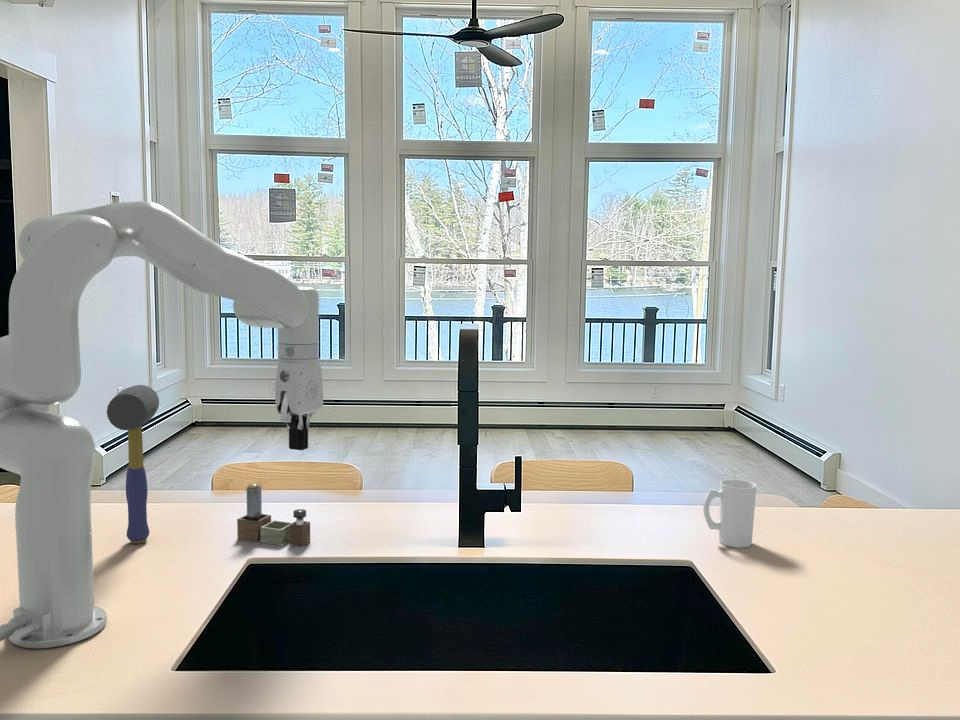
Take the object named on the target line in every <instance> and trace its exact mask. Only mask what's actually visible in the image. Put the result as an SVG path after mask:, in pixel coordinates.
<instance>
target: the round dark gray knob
mask: <svg viewBox="0 0 960 720" xmlns="http://www.w3.org/2000/svg"><path fill="white" fill-rule="evenodd" d="M292 515H293V516H292V517H293V518H295V521H296V525H304V521H305V518H306V517H307V510H306V509H304V508H303V509H301V508H299V509H294V510H293V514H292Z"/></svg>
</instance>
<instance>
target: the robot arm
mask: <svg viewBox="0 0 960 720" xmlns="http://www.w3.org/2000/svg"><path fill="white" fill-rule="evenodd" d="M17 242H18V243H17V247H18V251H19V254H20V256H21V258H22V259H23V261H22V262H21V264H20V265H19V267H18V269H17V270H16V272H15V274H14V277H13V279H12V282H11V285H10V289H9V294H8V295H9V297H8V334H7V335H5V336H1V337H0V469H2V470H5V471H7V472H11V473H15V474H17V475H19V476H20V484H19V488H18V492H17V496H16V501H15V509H14V521H15V523H14V524H15V525H14V527H15V534H16V535H15V537H16V557H17V574H18V575H17V576H18V594H19V595H18V596H19V598H18V600H19V607H17V608H14V609H13V612H12V613H13V615H12V616H13V617H12V618H10V619H9V620H8V622H7V623H5V624H4V623H3V624H1V625H0V642H2V641H4V640H6V639H8V640H9V641H10V643H12V644H14V646H18V647H20V648H25V649H49V648H57V647H62V646H63V647H64V646H66V645H71V644H74V643H77V642H80V641H84V640H86V639H87V638H90V637H92V636H94V635H95V634H98V632H100V631H101V630H102V629H103V628H105V626H106V624H107V620H108V618H107V617H108V615H107V612H106V611H105V609H103V608H102V607H100V606H96V605H95V589H94V588H95V585H94V563H93V561H94V559H93V558H94V557H93V556H94V555H93V536H92V535H93V534H92V533H93V531H92V513H91V511H92V509H91V508H92V507H91V506H92V505H91V491H92V480H93V472H94V467H95V461H96V446H95V440H94V438H93V436H92V434H91V432H90V430H89V429H88V428H87V427H86V426H85V425H84V424H83V423H82V422H80V421H78V420H77V419H75V418H72V417H70V416H68V415H65V414H60V413H56V412H51V411H50V410H49V409H50V408H49V406H56V405H60V404H63V403H65V402H67V401H70V399H72V398H73V397H74V396H75V395H76V393H77V392H78V390H79V388H80V386H81V380H82V367H81V365H82V364H81V351H80V349H81V348H80V347H81V345H80V332H79V307H80V301H81V297H82V295H83V293H84V290H85V289H86V287H87V285H88V284H89V282H91V281H92V279H94V277H95V276H96V275H98V274H99V273H101V272H102V271H103V270H104V269H106V268H107V267H108V266H109V265H110V264H111V263H112V261H113V260H114V259H116V258H120V257H138V258H140V259H142V260H144V261H146V262H147V263H149V264H151V265H152V266H153V267H156V268H158V269H159V270H161V271H163V272H164V273H165V274H167V275H168V276H170V277H172V278H173V279H175V280H177V281H179V282H180V283H182V284H183V285H184V286H186V287H187V288H189V289H192V290H194V291H197V292H200V293H203V294H206V295H210V296H214V297H218V298H224V299H228V300H232V301H233V303H232V309H233V313H234V315H235V316H236V318H237V319H238V320H239V321H240V322H241V323H243V324H245V325H247V326H250V327H256V328H266V329H267V328H273V329H277V367H276V369H277V370H276V378H275V396H274V397H275V398H274V399H275V410H276V412H277V413H278V414H280V418H279V421H280V422H282V423H286V427H287V428H286V429H288V449H289V450H293V451H294V450H296V451H304V450H307V449H308V448H309V428H310V424H311V423H310V422H311V417H312V416H314V415H315V414H316V411H319V410H321V409H322V407H323V406H324V389H323V387H324V386H323V385H324V384H323V374H322V367H321V361H320V356H319V355H320V354H319V352H320V339H319V337H320V336H319V335H320V333H319V332H320V328H319V326H320V322H319V321H320V320H319V317H320V315H319V314H320V312H319V311H320V309H319V308H320V302H319V301H320V298H319V297H320V296H319V291H318V290H317V289H316V288H314V287H310V286H297V285H296V284H295V283H293V282H292V280H291V281H290V280H289V279H288V278H287V277H285V276H284V275H282V274H281V273H279V272H278V271H276V270H274V269H273V268H271V267H268V265H267V266H266V265H265V264H263V263H260V262H258V261H255V260H254V259H251V258H248V257H246V256H244V255H243V254H240V253H238V252H236V251H233V250H231V249H228V248H226V247H224V246H222V245H220V244H219V243H217V242H215V241H214V240H213V239H211V238H209V237H208V236H207V235H205V234H204V233H202V231H201V232H200V231H199V230H198V229H196V228H195V227H194V226H192V225H191V224H189V223H188V222H187V221H185V220H184V219H182V218H181V217H179V216H178V215H176V214H175V213H173V212H172V211H171V210H169V209H168V208H166V207H164V206H163V205H161V204H158V203H156V202H152V201H146V200H143V201H140V200H139V201H126V202H113V203H110V204H109V203H108V204H104V205H99V206H94V207H90V208H85V209H80V210H75V211H74V210H73V211H68V212H62V213H57V214H56V213H55V214H50V215H45V216H40V217H37V218H34V219H33V220H31V221H29V222H28V223H26V224H25V226H24V227H23V228H22V229H21V231H20V234H19V236H18V240H17Z"/></svg>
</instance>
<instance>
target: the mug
mask: <svg viewBox="0 0 960 720" xmlns="http://www.w3.org/2000/svg"><path fill="white" fill-rule="evenodd" d="M719 484H720V486H719V490H717V489H716V488H715V489H713V488H709V490H708V493H707V494H706V497H705V499H704V503H703V515H704V518H705V522H706V524H707V527H708V528H709V530H716V531H717V530H718V542H719V543H720V544H721V545H723V546H726V547H730V548H737V549H743V548H744V549H745V548H749V547H751V545H752V542H753V533H754V522H755V521H754V520H755V509H756V507H755V506H756V495H757V484H756V483H755V482H751V481H748V480H743V479H732V478H731V479H730V478H729V479H724V480H720V482H719ZM715 498H719V510H718V513H719V514H718V515H719V519H718V521H714V520H712V517H711V514H710V506H711V505H710V504H711V501H712V500H714V499H715Z"/></svg>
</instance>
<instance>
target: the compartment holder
mask: <svg viewBox="0 0 960 720" xmlns="http://www.w3.org/2000/svg"><path fill="white" fill-rule="evenodd" d="M236 521H237V522H236V523H237V525H236V526H237V527H236V528H237V529H236V530H237V540H241V541H247V540H250V541H249V542H254V541H256V543H259V542H260V543H261V542H265V543H264V544H269V543H272V544H271V545H276V544H280V545H279V546H282V545H281V544H283V545H285V544H286V543H288V542H289V545H290V544H291V545H290V546H296V545H300V546H299V547H304V546H306V545H307V543H308V544H309V543H310V542H311V521H307V520H306V521H305V520H304V525H296V520H295V521H293V522H291V521H290V522H289V521H284V520H283V521H281V520H272V515H271V514H267V513H264V514H263V513H262V519H260V520H258V521H253V520H247V514H245V515H243V516H241V517H238V518H237V519H236ZM260 540H261V541H260ZM289 540H290V541H289ZM258 541H259V542H258ZM287 541H288V542H287ZM284 543H285V544H284ZM305 544H306V545H305Z"/></svg>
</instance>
